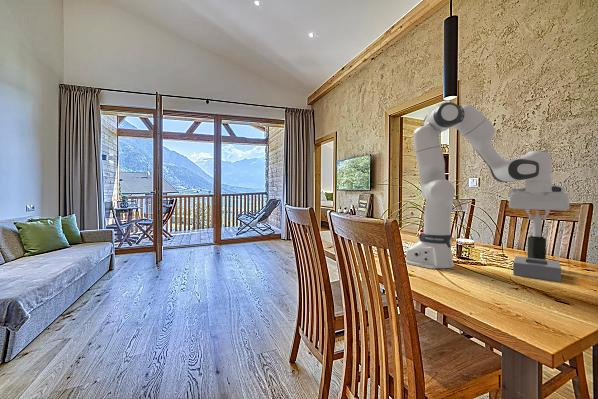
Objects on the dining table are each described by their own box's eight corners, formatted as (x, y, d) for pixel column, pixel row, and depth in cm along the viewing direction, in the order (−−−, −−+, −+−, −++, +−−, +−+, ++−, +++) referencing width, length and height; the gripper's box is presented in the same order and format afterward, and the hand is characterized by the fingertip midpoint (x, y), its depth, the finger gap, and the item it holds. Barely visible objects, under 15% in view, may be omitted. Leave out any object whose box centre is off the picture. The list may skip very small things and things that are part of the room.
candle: (539, 265, 127) (540, 209, 126) (546, 268, 122) (548, 210, 121) (526, 264, 128) (527, 209, 127) (533, 268, 123) (534, 210, 122)
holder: (513, 274, 113) (513, 262, 113) (515, 267, 124) (515, 256, 124) (560, 282, 104) (561, 268, 104) (558, 273, 115) (559, 261, 115)
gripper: (507, 188, 128) (507, 219, 128) (570, 188, 115) (569, 222, 115) (508, 188, 133) (508, 217, 133) (569, 188, 119) (568, 220, 120)
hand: (537, 219), depth 124 cm, fingers closed on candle, 3 cm apart
